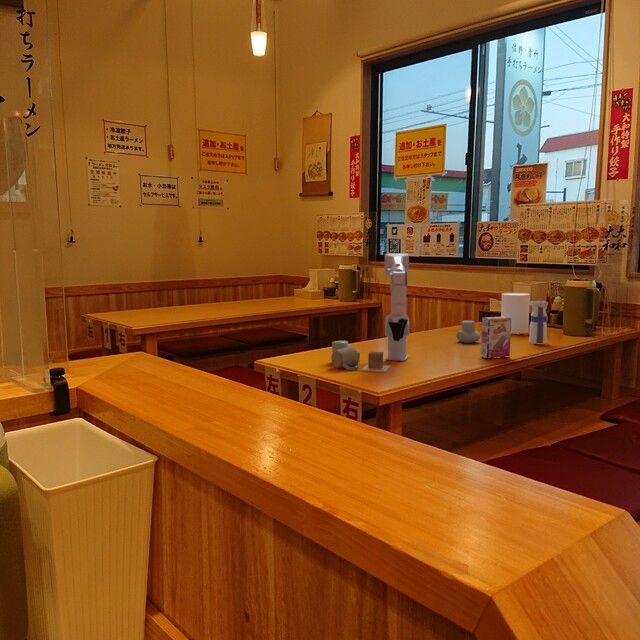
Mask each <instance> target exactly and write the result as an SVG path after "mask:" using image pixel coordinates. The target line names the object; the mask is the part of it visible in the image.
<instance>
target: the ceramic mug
mask: <svg viewBox="0 0 640 640" xmlns="http://www.w3.org/2000/svg"><path fill="white" fill-rule="evenodd" d="M357 351H358V350H357V349H356V348H355V347H354V346H348V347H347V348H343V349H338V350H336V351H334V352H333V353H332V352H331V353H332V354H331V363H332V365H333V366H334V367H335V368H336V369H339V370H340V369H341V370H342V369H346V370H348V371H350V370H355V371H357V370H358V369H359V367H360V362H358V361H359V357H358V353H357Z"/></svg>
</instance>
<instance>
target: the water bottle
mask: <svg viewBox="0 0 640 640" xmlns="http://www.w3.org/2000/svg"><path fill="white" fill-rule="evenodd" d="M547 293H548V295H550V291H548V292H547ZM548 305H549V302H547V301H545V300H531V301H529V306H531V307H532V310H531V313H530V316H531V319H530V320H531V321H530V324H529V336H528V337H529V338H528V339H529V340H528V343H529V342H531V343H547V342H548V341H547V331H548V330H547V328H548V327H547V322H548V318H549V317H548V314H547V311H546V310H547V309H548ZM547 344H548V343H547Z"/></svg>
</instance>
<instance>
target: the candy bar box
mask: <svg viewBox="0 0 640 640" xmlns="http://www.w3.org/2000/svg"><path fill="white" fill-rule="evenodd" d="M511 336H512V335H511V318H509V317H501V316H493V317H492V316H490V317H481V334H480V338H481V339H480V357H481V356H482V357H485V358H494V357H505V356H510V355H511V353H510V352H511ZM482 357H481V358H482ZM510 357H511V356H510ZM485 358H484V359H485Z"/></svg>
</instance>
